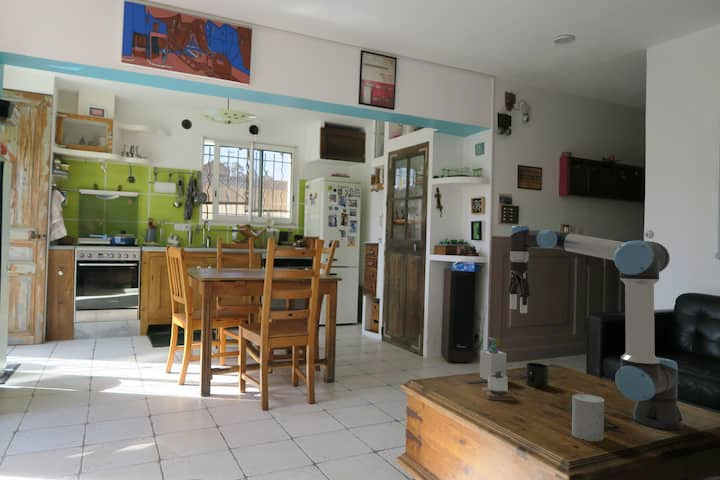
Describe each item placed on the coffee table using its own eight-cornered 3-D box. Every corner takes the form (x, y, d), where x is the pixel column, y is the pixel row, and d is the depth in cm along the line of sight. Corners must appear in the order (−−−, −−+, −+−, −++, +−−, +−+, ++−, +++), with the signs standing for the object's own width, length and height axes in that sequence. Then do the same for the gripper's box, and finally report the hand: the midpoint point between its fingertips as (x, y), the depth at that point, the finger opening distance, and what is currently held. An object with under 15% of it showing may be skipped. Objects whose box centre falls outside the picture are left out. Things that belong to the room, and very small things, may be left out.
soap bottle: (494, 376, 226) (495, 336, 226) (506, 380, 218) (507, 339, 218) (479, 377, 223) (480, 337, 223) (490, 382, 214) (491, 340, 215)
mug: (519, 385, 210) (519, 365, 210) (531, 381, 218) (532, 361, 219) (539, 390, 203) (540, 369, 204) (551, 385, 212) (552, 365, 212)
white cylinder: (594, 430, 158) (594, 393, 158) (610, 441, 148) (610, 402, 149) (566, 429, 158) (566, 393, 158) (580, 441, 148) (581, 402, 148)
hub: (509, 391, 191) (509, 378, 191) (491, 390, 191) (491, 378, 191) (503, 386, 198) (504, 374, 198) (486, 385, 198) (486, 373, 198)
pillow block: (514, 400, 188) (514, 375, 188) (489, 399, 188) (489, 374, 189) (505, 391, 200) (505, 368, 200) (481, 390, 200) (482, 367, 201)
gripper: (538, 262, 189) (537, 314, 188) (518, 261, 214) (517, 307, 213) (520, 261, 189) (519, 314, 188) (502, 260, 214) (501, 307, 213)
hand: (518, 311), depth 201 cm, fingers open, 13 cm apart
